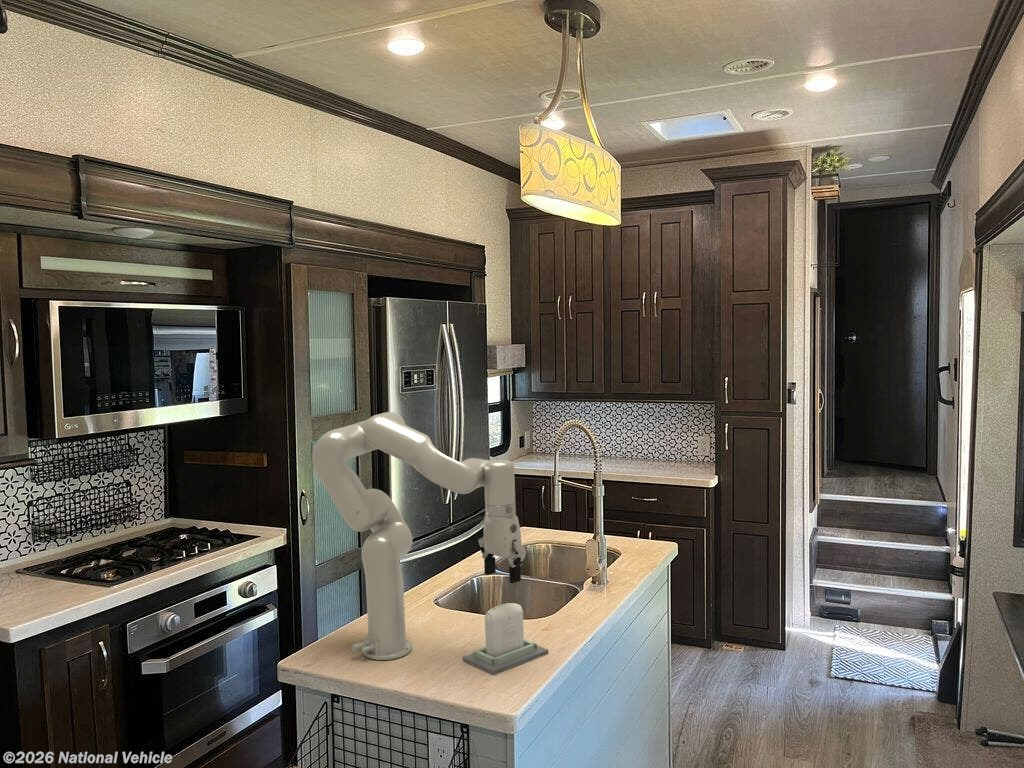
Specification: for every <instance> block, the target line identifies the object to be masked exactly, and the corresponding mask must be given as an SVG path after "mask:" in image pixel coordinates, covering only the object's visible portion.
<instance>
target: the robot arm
mask: <svg viewBox="0 0 1024 768" xmlns="http://www.w3.org/2000/svg"><path fill="white" fill-rule="evenodd" d="M376 450H379V451H381V452H383V453H385V454H388V455H390V456H392V457H394V458H396V459H398V460H399V461H400V460H401V462H404V463H406V464H408V465H410V466H412V467H413V468H414V469H415V470H416V471H417V472H418V473H419V474H421V475H422V476H423V477H424V478H426V479H427V480H429V481H430V482H432V483H434V484H436V485H437V486H440V487H441V488H444V489H446V490H449V491H451V492H453V493H455V494H459V495H460V494H461V495H466V494H470V493H472V492H474V491H475V490H476V489H479V488H480V487H484V503H485V504H484V508H485V509H484V510H485V515H484V519H483V520H484V521H483V522H484V523H483V533H482V534H483V536H482V537H480V538H478V544H479V547H480V549H479V550H480V552H481V553H482V558H483V561H484V563H483V564H484V566H483V568H484V575H486V576H489V575H492V574H496V572H497V570H496V569H497V567H496V557H500V558H503V559H507V562H508V563H509V565H510V566H509V567H508V573H509V574H508V575H509V578H508V579H509V583H510V584H515V583H519V582H521V581H522V573H521V572H522V571H521V569H522V568H521V566H522V565H523V563H524V561H525V557H526V554H527V550H526V549H525V548H524V547H523V546H522V545H523V544H522V534H521V526H520V523H519V518H518V515H517V514H516V513H517V510H516V488H515V487H516V486H515V485H516V484H515V483H516V482H515V479H516V477H515V464H514V462H512V461H511V460H509V459H492V460H491V459H490V460H489V459H483V458H482V459H481V458H475V457H474V458H473V457H471V458H467V459H465V460H463V461H458V460H456V459H454V458H451V457H450V456H447V455H446V454H444V453H442V452H441V451H440V450H438V449H437V448H436V447H435V446H434V444H433V442H432V440H431V438H430V437H429V435H427V434H425V433H423V432H420V431H419V430H417V429H415V428H413V427H411V426H409V425H407V424H406V422H405V420H404V418H403V417H402V416H401V415H400V414H398V413H397V412H396V413H395V412H392V411H386V412H382V413H379V414H374V415H372V416H371V417H369V418H367V419H366V420H363V421H362V420H361V421H359V422H356V423H353V424H350V425H346V426H342V427H339V428H338V427H337V428H334V429H332V430H329V431H327V432H326V433H324V434H323V435H322V436H320V438H318V440H317V441H316V443H315V446H314V448H313V451H312V457H311V459H312V466H313V469H314V472H315V474H316V476H317V478H318V479H319V480H320V482H321V483H322V485H323V486H324V488H325V489H326V491H327V493H328V494H329V497H330V498H331V500H332V502H334V504H335V506H336V508H337V510H338V511H339V513H340V514H341V516H342V517H343V520H344V521H345V522H346V524H347V526H348V527H349V528H350V529H351V530H353V531H355V532H365V531H368V530H370V531H371V534H370V535H369V536H368V537H367V538H366V539H365V540H364V542H363V544H362V547H361V561H362V565H363V571H364V577H365V591H366V592H365V593H366V610H367V611H366V613H367V614H366V615H367V635H365V636H364V640H362V641H361V642H357V643H354V644H352V645H351V651H352V653H358V652H360V651H361V653H363V656H364V657H365V658H368V659H371V660H374V659H375V660H374V661H376V660H377V661H386V660H387V661H388V660H394V659H399V658H402V657H404V656H406V655H408V654H410V653H411V652H412V650H413V643H412V641H410V640H409V639H407V637H406V636H407V635H406V616H405V614H406V613H405V592H404V591H405V590H404V578H403V572H402V569H401V563H400V560H401V559H402V558H404V556H406V555H407V554H408V553H409V552H410V550H411V548H412V545H413V534H412V533H411V530H410V527H409V526H408V524H407V523H406V521H405V519H404V518H403V516H402V515H401V513H400V512H399V510H398V508H397V506H396V505H395V503H394V502H393V501H392V500H393V499H391V497H390V496H389V495H388V494H387V493H386V492H384V491H382V490H381V489H378V488H368V489H367V488H365V486H364V484H363V483H362V480H360V477H359V475H357V473H356V472H355V470H354V469H352V468H351V467H350V466H349V465H348V463H347V461H348V460H350V459H353V458H355V457H358V456H361V455H365V454H367V453H370V452H372V451H376ZM513 558H514V559H513Z"/></svg>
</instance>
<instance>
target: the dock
mask: <svg viewBox="0 0 1024 768" xmlns="http://www.w3.org/2000/svg"><path fill="white" fill-rule="evenodd" d="M548 654H549V649H547V648H545V647H542V646H540V645H538V643H535V642H532V641H530V640H528V639H526V638H524V647H522V648H519V649H517V650H514V651H511V652H509V653H506V654H503V655H500V656H498V657H495V658H494V657H492V656H490V655H487V654H486V646H483V647H481V648H478V649H475V650H473V652H472V653H469V654H467V655H464V656H462V662H465V663H467V664H469V665H471V666H473V667H475V668H478V669H480V670H482V671H484V672H486V673H488V674H489V675H492V676H495V675H497V674H500V673H503V672H505V671H508V670H510V669H513V668H515V667H518V666H520V665H523V664H526V663H528V662H532V661H533V660H535V659H539V658H541V657H543V655H544V656H546V655H548ZM540 656H541V657H540ZM538 657H539V658H538Z"/></svg>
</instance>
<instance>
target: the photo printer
mask: <svg viewBox="0 0 1024 768" xmlns="http://www.w3.org/2000/svg"><path fill="white" fill-rule="evenodd" d="M484 630H485V631H484V632H485V634H484V635H485V647H486V654H487V655H490V656H492V657H494V658H495V657H498V656H500V655H503V654H506V653H509V652H511V651H514V650H517V649H519V648H522V647H524V639H525V638H524V637H525V636H524V610H523V607H522V605H520V604H518V603H515V602H507V603H501V604H498V605H496V606H494V607H492V608H490V609H489V610H488V611H486V612H485V615H484Z"/></svg>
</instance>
